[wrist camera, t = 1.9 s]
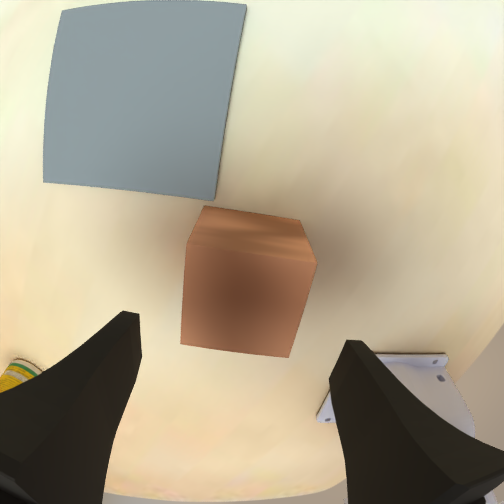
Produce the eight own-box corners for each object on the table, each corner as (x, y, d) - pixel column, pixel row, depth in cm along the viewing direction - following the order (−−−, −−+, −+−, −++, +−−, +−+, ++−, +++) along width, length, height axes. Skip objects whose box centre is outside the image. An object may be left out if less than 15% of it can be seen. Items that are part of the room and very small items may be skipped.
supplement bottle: (62, 403, 24) (28, 479, 15) (21, 388, 24) (-16, 455, 15) (47, 366, 22) (1, 450, 13) (4, 350, 21) (-44, 422, 13)
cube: (299, 219, 17) (317, 262, 12) (280, 299, 19) (288, 358, 14) (204, 205, 16) (186, 243, 12) (195, 287, 18) (180, 343, 14)
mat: (246, 8, 12) (246, 4, 11) (214, 198, 16) (213, 201, 15) (67, 12, 11) (62, 10, 10) (48, 179, 15) (43, 182, 15)
